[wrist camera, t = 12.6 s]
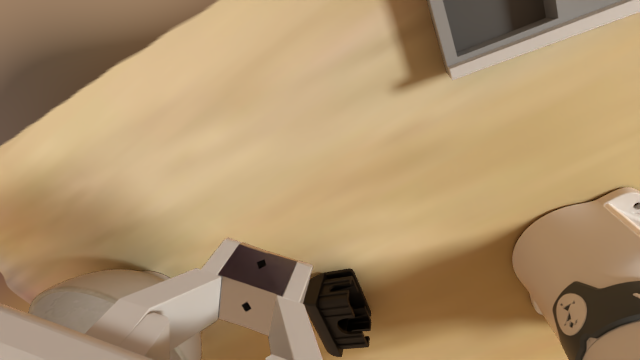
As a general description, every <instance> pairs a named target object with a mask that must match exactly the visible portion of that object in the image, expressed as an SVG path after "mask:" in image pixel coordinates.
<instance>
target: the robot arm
mask: <svg viewBox="0 0 640 360" xmlns="http://www.w3.org/2000/svg"><path fill="white" fill-rule="evenodd" d="M638 202H639V204H638V205H636V206H634V204H636V203H638ZM512 263H513V268H514V271H515V274H516V276H517V277H518V279H519V280H520V282H521V283H522V284H523V285H524V286H525V288H526V289H527V290H528V292H529V293H530V299H531V303H532V305H533V307H534V308H535V310H536V311H537V313H539V314H541V315H544V317H545V319H546V320H547V322H548V323H549V325H550V327H551V328H552V330H553V331H554V333H555V335H556V336H557V338H558V339H559V341H560V342H561V345H562V347H563V349H564V351H565V353H566V355H567V357H568V359H569V360H640V191H638V190H636V189H634V188H630V187H625V188H621V189H618V190H615V191H613V192H611V193H609V194H607V195H605V196H603V197H601V198H599V199H597V200H594V201H591V202H587V203H581V204H576V205H571V206H567V207H564V208H561V209H558V210H555V211H553V212H551V213H549V214H547V215H545V216H543V217H541V218H540V219H538V220H537V221H535V222H534V223H533V224H532V225H530V226H529V227H528V228H527V229H526V230H525V231H524V232H523V234H522V235H521V236H520V238H519V239H518V241H517V243H516V245H515V247H514V251H513V256H512ZM312 269H313V265H311V264H308V263H305V262H302V261H298V260H295V259H291V258H288V257H285V256H282V255H279V254H275V253H272V252H269V251H266V250H263V249H260V248H257V247H254V246H252V245H249V244H246V243H243V242H239V241H236V240H233V239H231V238H226V239H225V240H223V242H222V243H221V244H220V246H219V247H218V248H217V249H216V251H215V252H214V253H213V254H212V256H211V257H210V258H209V259H208V261H207V262H206V263H205V264H204V266H203V267H202V268H201V269H197V268H195V269H193V270H190V271H188V272H185V273H183V274H180V275H178V276H175V277H173V278H170V279H168V280H165V281H163V282H160V283H158V284H155V285H153V286H150V287H148V288H145V289H143V290H140V291H138V292H135V293H133V294H130V295H128V296H125V297H123V298H120V299H119V300H118V301H117V302H116V303H115V304H114V305H113V306H112V307H111V308H110V309H109V310H108V311H107V312H106V313H105V314H104V315H103V316H102V317H101V318H100V319H99V320H98V321H97V322H96V323H95V324H94V325H93V326H92V327H91V328H90V329H89V330H88V331H87V332H86V333H85V334H83V333H80V332H77V331H75V330H72V329H69V328H67V327H64V326H61V325H59V324H56V323H53V322H50V321H48V320H45V319H42V318H40V317H37V316H34V315H31V314H29V313H26V312H23V311H21V310H18V309H15V308H12V307H10V306H7V305H4V304H2V303H0V360H170V351H171V350H173V349H174V348H176V347H177V346H179V345H180V344H182V343H183V342H185V341H186V340H188V339H189V338H191V337H193V336H194V335H196V334H197V333H199V332H200V331H202V330H203V329H205V328H206V327H208V326H209V325H211V324H212V323H214V322H215V321H217V320H218V319H221V320H225V321H228V322H231V323H234V324H237V325H240V326H243V327H246V328H249V329H251V330H254V331H257V332H259V333H262V334H264V335H267V336H269V337H268V338H269V345H270V351H271V355H270V356H268V357H266V359H265V360H323V359H322V356H321V353H320V350H319V347H318V344H317V341H316V338H315V335H314V332H313V329H312V326H311V323H310V320H309V317H308V314H307V311H306V308H305V305H304V304H303V301H304V298H305V294H306V291H307V287H308V283H309V280H310V276H311V272H312Z"/></svg>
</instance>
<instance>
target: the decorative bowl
mask: <svg viewBox="0 0 640 360" xmlns="http://www.w3.org/2000/svg"><path fill="white" fill-rule="evenodd" d="M168 279H170V278H169V277H167V276H165V275H163V274H160V273H157V272H153V271H135V270H126V269H114V270H104V271H97V272H93V273H88V274H84V275H81V276H78V277H75V278H72V279H69V280H67V281H64V282H62V283H59V284H57V285H55V286H53V287H51V288H49V289H47V290H45V291H43V292H42V293H40V294H39V295H38V296H37V297H36V298H35V299H34V300H33V301H32V303H31V305H30V308H29V312H28V313H29V314H31V315H34V316H37V317H40V318H42V319H45V320H48V321H50V322H53V323H56V324H59V325H61V326H64V327H67V328H69V329H72V330H75V331H77V332H80V333H83V334H85V333H86V332H87V331H88V330H89V329H90V328H91V327H92V326H93V325H94V324H95V323H96V322H97V321H98V320H99V319H100V318H101V317H102V316H103V315H104V314H105V313H106V312H107V311H108V310H109V309H110V308H111V307H112V306H113V305H114V304H115V303H116V302H117V301H118V300H119V299H120V298H123V297H125V296H128V295H130V294H133V293H135V292H138V291H140V290H143V289H145V288H148V287H150V286H153V285H155V284H158V283H160V282H163V281H165V280H168ZM201 351H202V350H201V335H200V332H199V333H197V334H196V335H194V336H193V337H191V338H189V339H188V340H186V341H185V342H183V343H182V344H180V345H179V346H177V347H176V348H174V349H173V350H171V351H170V360H201Z"/></svg>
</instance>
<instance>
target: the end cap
mask: <svg viewBox="0 0 640 360" xmlns="http://www.w3.org/2000/svg"><path fill="white" fill-rule="evenodd" d="M303 304H304V305H305V308H306V311H307V313H308V315H309V317H310V319H311V321H312V323H313V325H314V327H315V329H316V331H317V333H318V335H319V336H320V338H321V340H322V342H323V344H324V346H325V348H326V350H327V351H328V352H329V353H330V354H331V355H333V356H337V357H342V352H343V349H351V348H364V347H369V341H370V338H369V336H364V334H363V332H362V331H370V330H371V319H370V316H371V311H370V309H369V306H368V304H367V301H366V299H365V297H364V294H363V292H362V290H361V287H360V285H359V282H358V280H357V278H356V275H355V273H354V271H353V270H352V269H344V270H338V271H332V272H327V273H324V274H320V275H317V276H315V277H313V278H312V279H310V280H309V283H308V287H307V291H306V294H305V298H304V301H303Z"/></svg>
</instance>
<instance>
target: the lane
mask: <svg viewBox="0 0 640 360" xmlns="http://www.w3.org/2000/svg"><path fill="white" fill-rule="evenodd" d="M427 3H428V7H429V10H430V14H431V18H432V21H433V25H434V29H435V32H436V36H437V39H438V43H439V47H440V50H441V54H442V58H443V61H444V65H445V69H446V72H447V74H448V75H449V76H450V77H451V79H452V80H454V79H457V78H460V77H462V76H465V75H468V74H471V73H473V72H476V71H479V70H482V69H484V68H487V67H490V66H493V65H495V64H498V63H501V62H504V61H506V60H509V59H512V58H515V57H517V56H520V55H523V54H526V53H528V52H531V51H534V50H537V49H539V48H542V47H545V46H547V45H550V44H553V43H556V42H558V41H561V40H564V39H567V38H569V37H572V36H575V35H578V34H580V33H583V32H586V31H589V30H591V29H594V28H597V27H600V26H602V25H605V24H608V23H611V22H613V21H616V20H619V19H622V18H624V17H627V16H630V15H633V14H635V13H638V12H640V0H427Z"/></svg>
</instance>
